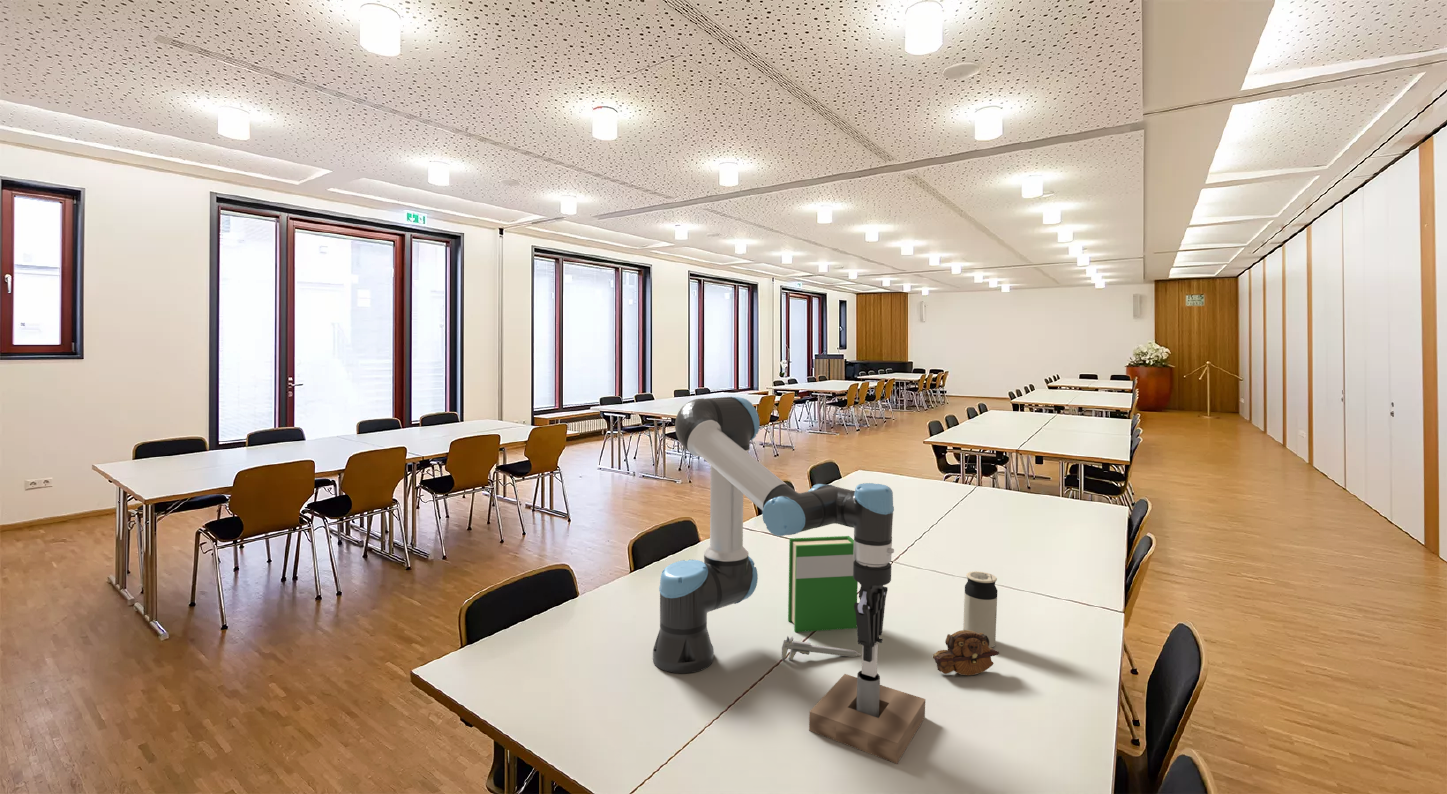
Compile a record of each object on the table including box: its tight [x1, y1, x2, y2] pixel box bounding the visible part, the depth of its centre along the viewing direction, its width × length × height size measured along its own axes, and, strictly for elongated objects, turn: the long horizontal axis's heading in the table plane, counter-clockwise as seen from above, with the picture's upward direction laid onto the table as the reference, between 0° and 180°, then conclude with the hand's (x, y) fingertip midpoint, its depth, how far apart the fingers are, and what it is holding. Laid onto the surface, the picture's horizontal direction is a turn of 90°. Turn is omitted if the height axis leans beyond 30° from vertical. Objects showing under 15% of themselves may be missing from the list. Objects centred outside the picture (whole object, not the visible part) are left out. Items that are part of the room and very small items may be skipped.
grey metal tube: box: [856, 670, 881, 718], centre depth 127 cm, size 4×4×10 cm
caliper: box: [781, 635, 862, 662], centre depth 155 cm, size 20×1×6 cm, turn 99°
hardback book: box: [787, 535, 859, 633], centre depth 174 cm, size 18×7×24 cm, turn 99°
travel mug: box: [962, 570, 998, 648], centre depth 164 cm, size 8×8×18 cm
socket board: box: [808, 673, 926, 764], centre depth 127 cm, size 18×18×4 cm
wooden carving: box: [932, 629, 1000, 676], centre depth 148 cm, size 16×5×10 cm, turn 105°
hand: (869, 673), depth 127 cm, fingers closed
